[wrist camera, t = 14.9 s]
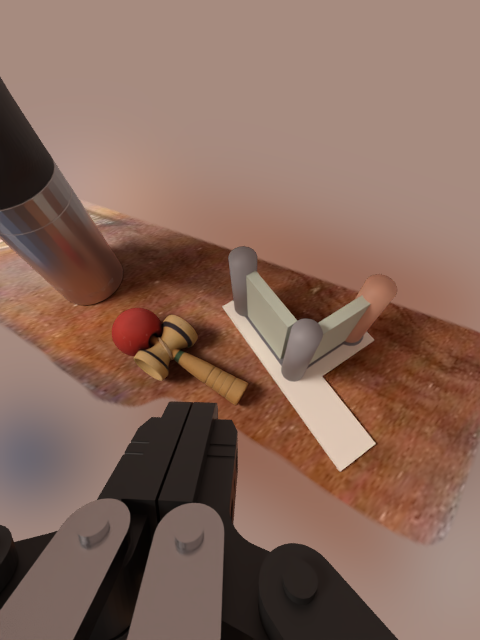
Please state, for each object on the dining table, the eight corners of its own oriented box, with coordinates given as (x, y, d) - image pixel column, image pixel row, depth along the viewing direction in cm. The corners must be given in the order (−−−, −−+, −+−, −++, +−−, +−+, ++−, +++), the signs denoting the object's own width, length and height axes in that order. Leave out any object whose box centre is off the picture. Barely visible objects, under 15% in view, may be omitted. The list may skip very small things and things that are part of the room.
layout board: (222, 307, 41) (222, 306, 41) (300, 263, 44) (300, 261, 44) (339, 471, 32) (340, 471, 31) (429, 400, 35) (431, 400, 34)
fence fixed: (230, 305, 41) (222, 252, 31) (248, 295, 42) (246, 239, 32) (289, 386, 36) (303, 353, 26) (309, 373, 36) (330, 335, 26)
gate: (312, 371, 36) (332, 337, 27) (297, 351, 37) (311, 312, 28) (367, 334, 38) (403, 290, 28) (351, 317, 39) (381, 269, 30)
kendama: (258, 366, 39) (144, 301, 41) (261, 361, 33) (126, 284, 35) (228, 421, 37) (111, 349, 40) (225, 426, 31) (87, 341, 33)
